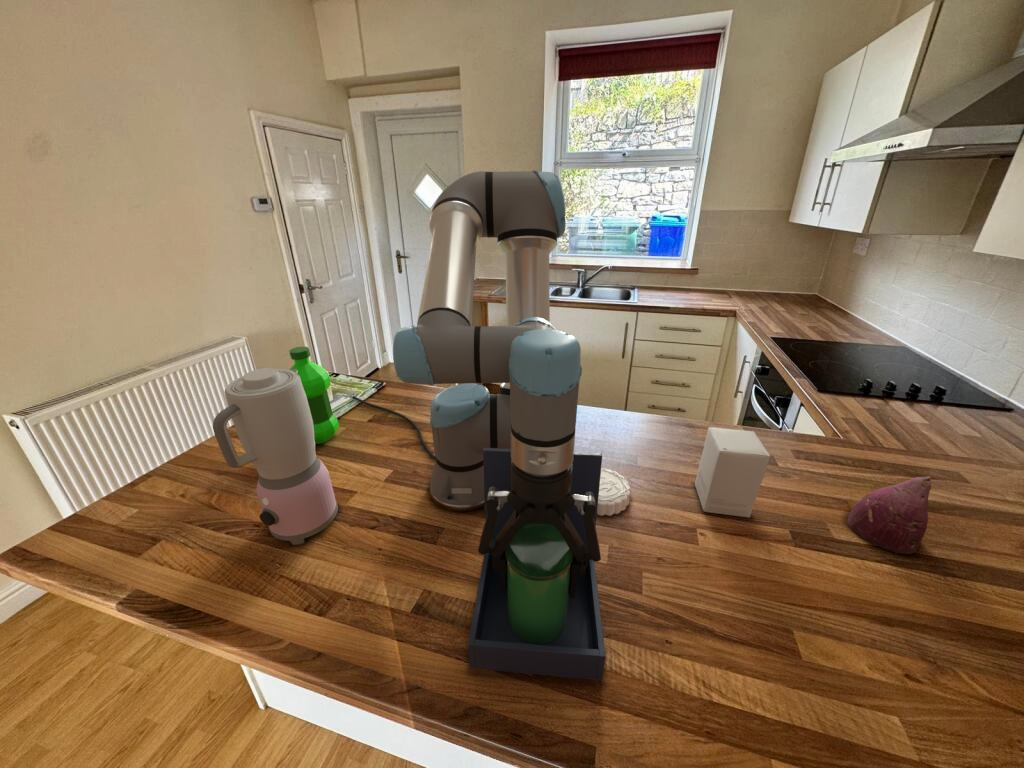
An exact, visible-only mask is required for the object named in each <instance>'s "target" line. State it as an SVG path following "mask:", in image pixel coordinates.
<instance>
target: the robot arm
mask: <svg viewBox="0 0 1024 768" xmlns="http://www.w3.org/2000/svg"><path fill="white" fill-rule="evenodd" d="M429 216H430V217H429V223H428V224H429V231H430V234H431V236H432V238H431V243H430V249H429V255H428V260H427V266H426V271H425V277H424V283H423V288H422V294H421V299H420V305H419V311H418V316H417V322H416V325H411V326H404V327H400V328H399V329H398V331H396V333H395V335H394V338H393V345H392V359H393V366H394V370H395V373H396V375H397V378H398V379H399V380H400V381H401V382H403V383H405V384H411V385H413V384H414V385H427V386H428V385H430V386H434V385H451V384H453V386H450V387H446V388H445V389H444V390H442V391H440V392H439V393H437V394H436V395H435V396H434V397H433V398H432V401H431V403H430V408H429V409H430V418H429V423H430V426H431V432H432V441H433V442H432V443H433V450H434V453H433V452H432V451H431V450H430V449H429V447H428V445H427V444H426V442H425V441H424V438H423V435H422V432H421V429H420V428H419V427H418V425H417V424H416V423H415V422H414V421H413V420H411V419H410V418H409V417H407V416H406V415H404V414H402V413H400V412H398V411H394V410H391V409H390V408H386V407H383V406H379V405H376V404H372V403H370V402H368V401H365V400H362V399H361V398H358V397H357V396H354V395H352V396H351V398H352V399H353V400H356V401H358V402H360V403H362V404H364V405H366V406H369V407H371V408H375V409H379V410H382V411H385V412H387V413H390V414H393V415H396V416H398V417H400V418H402V419H404V420H405V421H407V422H408V423H410V424H411V426H413V428H414V429H415V430H416V432H417V434H418V437H419V440H420V443H421V445H422V447H423V448H424V450H425V451H426V452H427V453H428V455H429V457H431V458H432V459H433V460H434V464H433V469H432V471H431V475H430V479H429V493H430V497H431V499H432V500H433V502H434V503H435V504H436V505H438V506H439V507H441V508H443V509H444V510H447V511H451V512H459V513H460V512H461V513H463V512H471V511H475V510H479V509H481V508H485V500H484V463H483V449H484V448H500V449H511V459H512V460H511V487H510V488H509V490H508V491H498V489H497V488H496V487H490V488H489V491H488V496H487V501H486V505H487V510H488V512H487V516H486V520H485V519H484V524H483V527H482V531H481V534H480V535H481V536H480V541H479V545H478V550H477V551H478V553H479V554H480V555H484V554H486V553H489V554H490V555H491V556H492V565H493V571H494V572H500V580H501V592H502V593H506V589H507V572H506V557H505V549H506V548H507V547H508V545H509V544H510V542H511V541H512V540H513V538H514V537H515V535H516V534H517V533H518V531H519V530H520V529H522V528H523V527H524V525H525V524H526V523H527V521H528V523H538V522H541V523H545V524H552V523H553V525H554V526H555V528H556V530H557V531H558V532H560V533H561V535H562V537H563V538H564V540H565V542H566V543H567V545H568V547H569V548H570V550H571V552H572V553H573V555H574V556H573V561H572V564H571V574H570V586H569V597H570V598H575V590H576V579H577V577H580V578H583V577H584V576H585V568H587V561H588V560H593V561H594V563H597V562H600V561H601V559H602V557H601V550H600V542H599V537H598V533H597V528H596V527H597V526H596V527H595V522H594V514H595V510H596V506H595V499H594V494H593V493H592V492H586V493H585V495H584V496H583V495H576V494H574V493H573V491H572V489H571V487H572V474H573V463H572V462H573V458H574V452H575V441H576V428H577V427H576V426H577V414H578V401H579V389H580V380H581V376H582V374H583V373H582V372H583V367H582V364H581V359H582V357H581V355H582V354H581V352H582V351H581V350H582V348H581V344H580V342H579V341H578V339H577V338H576V337H575V336H573V335H571V334H570V335H569V334H568V333H567V332H565V331H562V330H561V331H560V330H557V329H556V327H555V326H554V325H553V324H552V323H551V322H550V318H551V314H550V311H551V310H550V304H551V303H550V301H551V300H550V297H551V296H550V254H551V253H552V252H553V251H554V250H555V249H556V247H557V246H558V239H559V238H561V237H563V236H564V234H565V232H566V224H567V223H566V202H565V194H564V188H563V185H562V181H561V180H560V177H559V176H558V175H557V174H556V173H555V172H551V171H538V170H536V169H533V170H529V171H527V170H525V171H524V170H523V171H522V170H521V171H519V170H518V171H517V170H516V171H515V170H514V171H511V170H510V171H485V170H484V171H483V170H482V171H474V172H469V173H468V174H465V175H463V176H461V177H459V178H457V179H456V180H454V181H453V182H452V183H450V184H449V185H448V186H446V188H445V189H444V190H443V191H442V192H441V193H440V195H439V196H438V197H437V199H436V201H435V202H434V204H433V206H432V209H431V211H430V215H429ZM481 238H495V239H497V248H498V249H499V250H500V251H501V252H502V253H503V254H504V256H505V257H504V258H505V309H506V311H505V314H506V315H505V316H506V318H505V319H506V320H505V321H506V322H505V323H506V325H492V326H491V325H487V326H486V325H485V326H484V325H482V326H480V325H479V326H478V325H476V326H475V325H472V324H473V309H474V294H475V293H474V291H475V290H474V289H475V274H476V255H477V245H478V243H479V242H480V240H481ZM454 384H456V385H454ZM482 384H499V393H491V394H490V391H489V390H488V388H487V387H486V386H484V385H482ZM505 502H508V503H509V504H510V505H511V506H512V507H513V508H514V512H513V513H512V515H511V516H510V518H509V519H508V520H507V522H506V523H505V525H504V526H503V528H502V529H501V531H500V532H499V534H498V535H497V537H494V540H492V539H491V536H492V533H493V529H494V526H495V522H496V519H497V513H498V511H499V510H500V509H501V508H502V507H503V506H504V503H505ZM573 505H575V506H576V507H577V508H578V511H579V512H580V514H581V515H583V519H584V525H585V530H586V535H587V539H588V544H589V545H584V543H583V541H582V540H581V538H580V536H579V534H578V533H577V531H576V529H575V528H574V526H573V524H572V522H571V521H570V519H569V517H568V515H567V513H566V512H567V511H568V510H569V509H571V508H572V507H573Z"/></svg>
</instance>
